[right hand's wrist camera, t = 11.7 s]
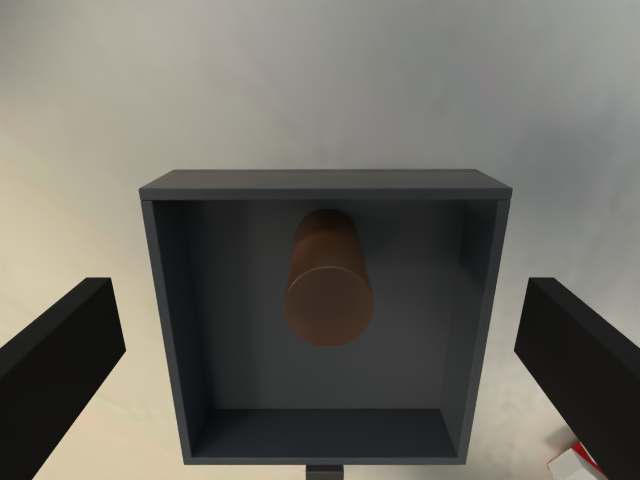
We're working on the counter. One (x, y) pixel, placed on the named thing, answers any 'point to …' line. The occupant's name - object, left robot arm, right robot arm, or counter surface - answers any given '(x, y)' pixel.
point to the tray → (312, 360)
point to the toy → (575, 465)
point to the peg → (328, 281)
